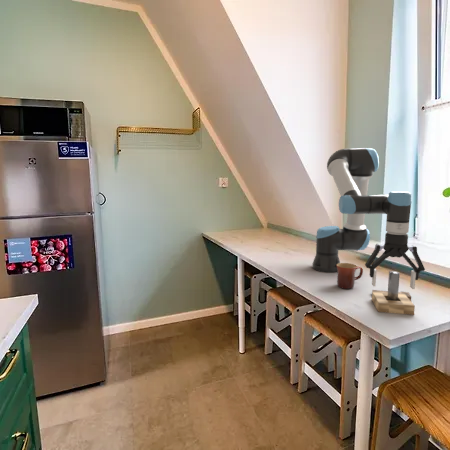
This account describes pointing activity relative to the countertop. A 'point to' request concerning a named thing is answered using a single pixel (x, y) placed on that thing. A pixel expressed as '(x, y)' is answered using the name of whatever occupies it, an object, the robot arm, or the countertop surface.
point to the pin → (393, 286)
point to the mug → (347, 275)
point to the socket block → (393, 303)
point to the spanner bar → (398, 292)
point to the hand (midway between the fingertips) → (392, 286)
